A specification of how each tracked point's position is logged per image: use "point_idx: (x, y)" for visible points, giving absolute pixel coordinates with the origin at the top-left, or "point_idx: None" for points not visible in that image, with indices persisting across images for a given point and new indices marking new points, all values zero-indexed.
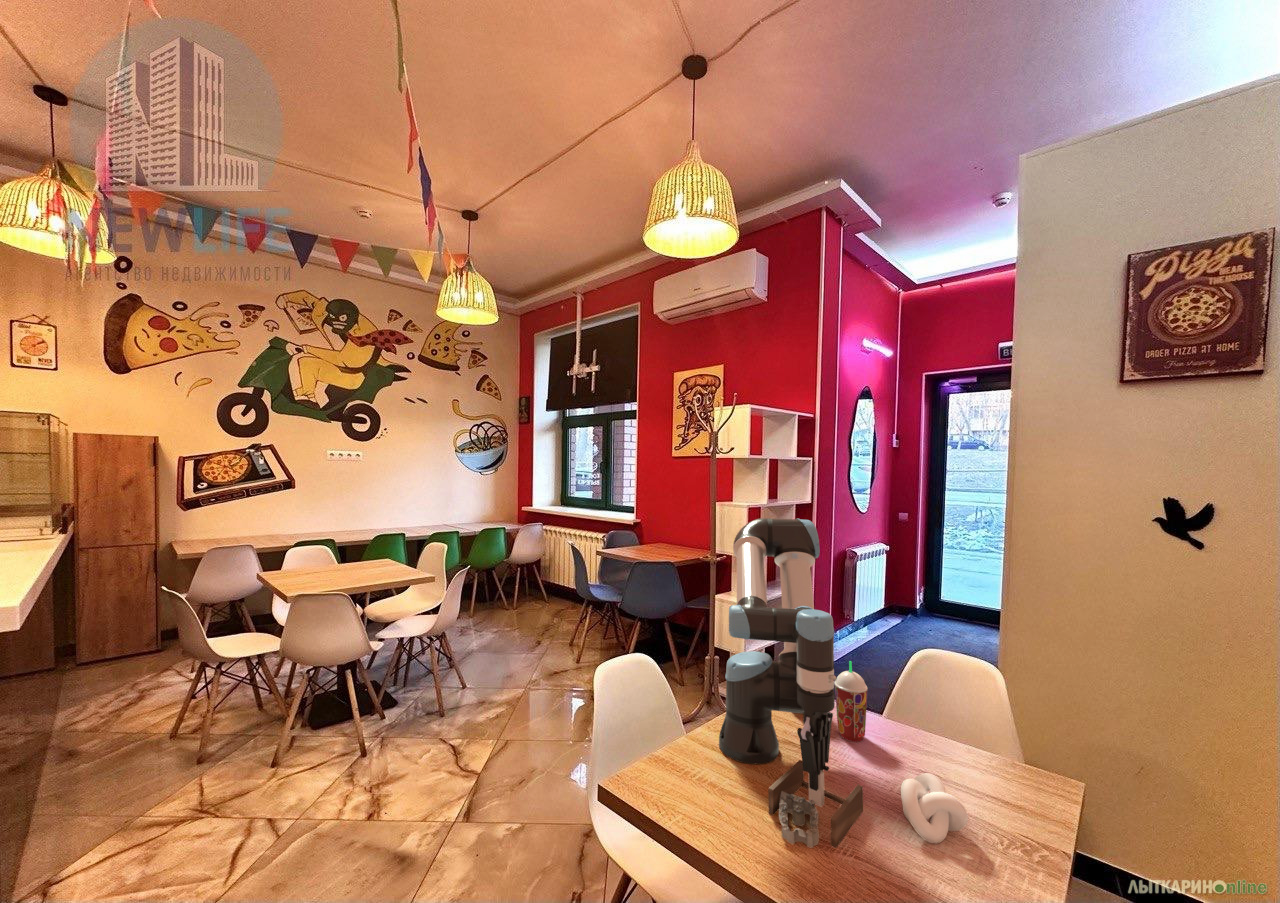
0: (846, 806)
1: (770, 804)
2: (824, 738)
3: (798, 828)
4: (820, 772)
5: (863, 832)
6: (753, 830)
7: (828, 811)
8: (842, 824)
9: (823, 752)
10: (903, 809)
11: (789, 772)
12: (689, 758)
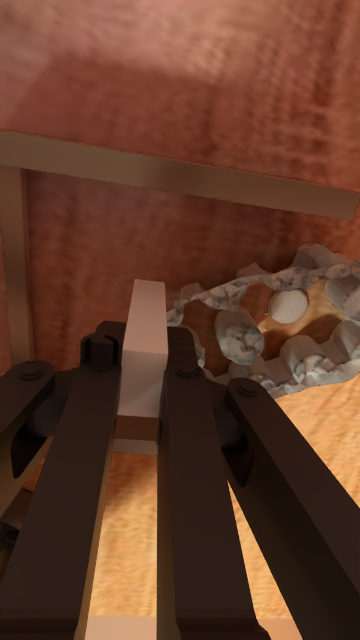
0: (215, 169)
1: None
2: (24, 579)
3: (275, 315)
4: (147, 362)
5: (150, 97)
6: (335, 404)
7: (110, 257)
8: (259, 174)
9: (94, 443)
10: None
11: None
12: (140, 588)
